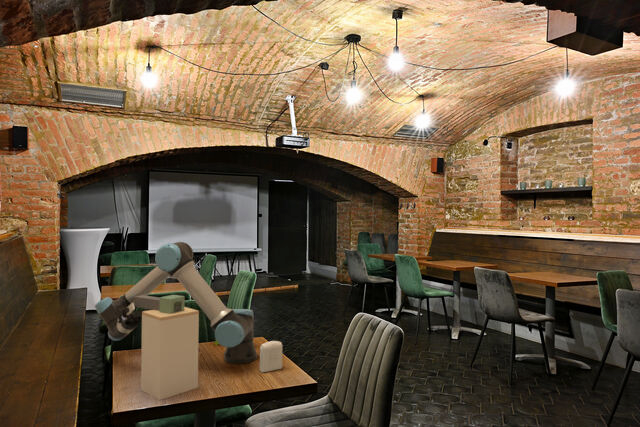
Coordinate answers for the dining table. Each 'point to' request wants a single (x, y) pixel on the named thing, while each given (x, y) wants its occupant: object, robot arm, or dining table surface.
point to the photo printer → (270, 356)
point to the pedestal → (169, 352)
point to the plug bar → (161, 303)
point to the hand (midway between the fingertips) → (149, 303)
